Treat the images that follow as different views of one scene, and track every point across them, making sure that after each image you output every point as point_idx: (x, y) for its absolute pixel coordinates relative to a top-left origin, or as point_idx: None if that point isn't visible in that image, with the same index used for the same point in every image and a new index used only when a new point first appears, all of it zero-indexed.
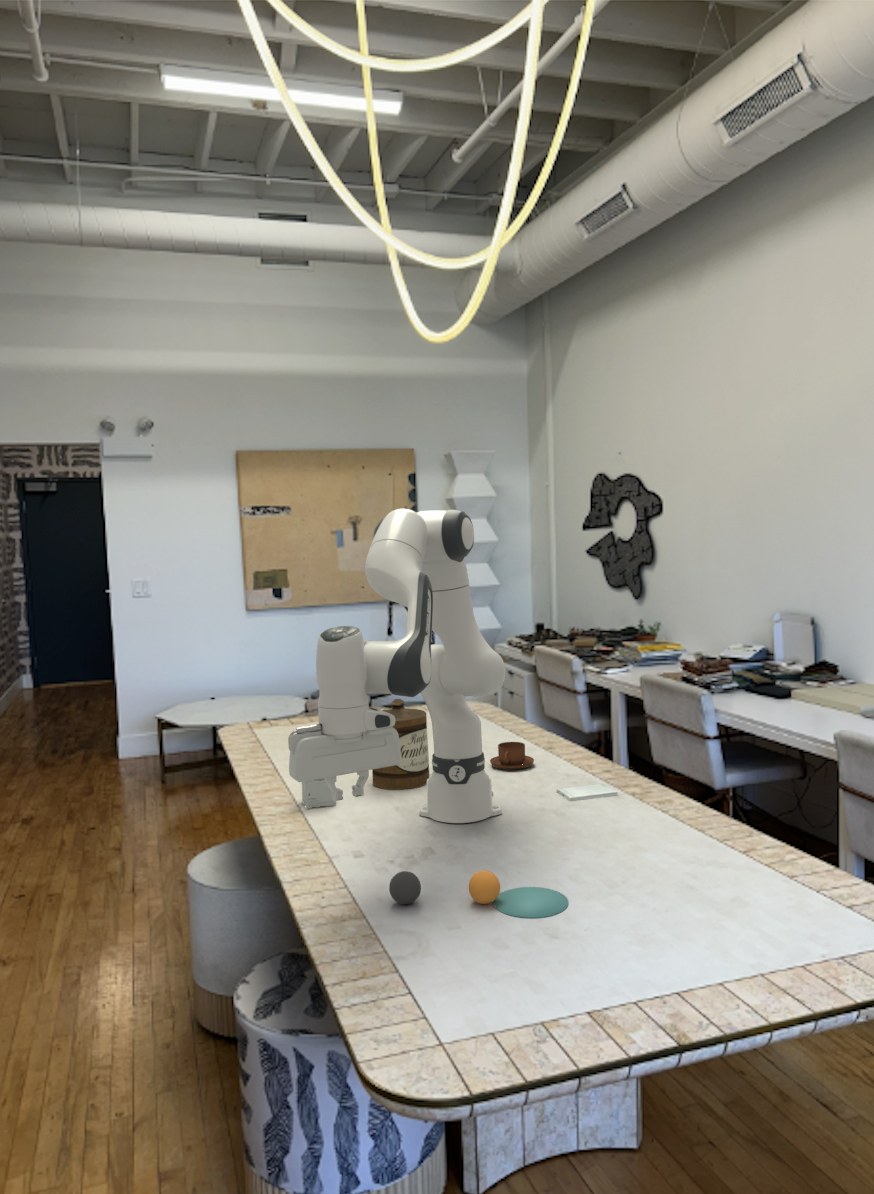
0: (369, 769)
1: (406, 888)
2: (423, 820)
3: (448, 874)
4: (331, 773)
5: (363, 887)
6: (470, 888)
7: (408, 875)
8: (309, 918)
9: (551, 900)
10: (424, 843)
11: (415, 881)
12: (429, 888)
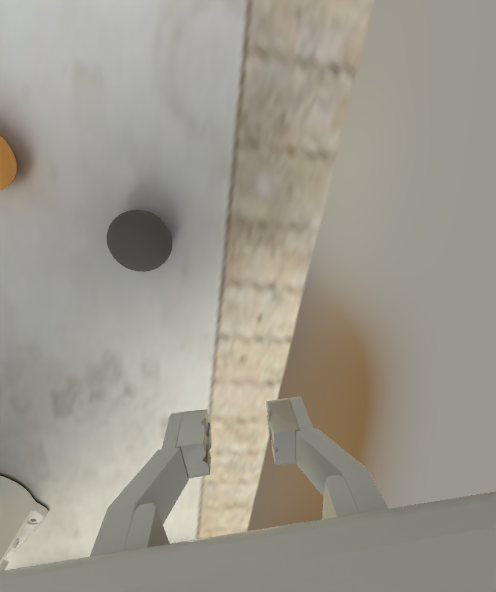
0: (78, 562)
1: (142, 213)
2: (46, 495)
3: (47, 312)
4: (412, 536)
5: (195, 324)
6: (2, 153)
7: (125, 233)
8: (304, 257)
9: None
10: (62, 429)
11: (117, 221)
12: (93, 274)
